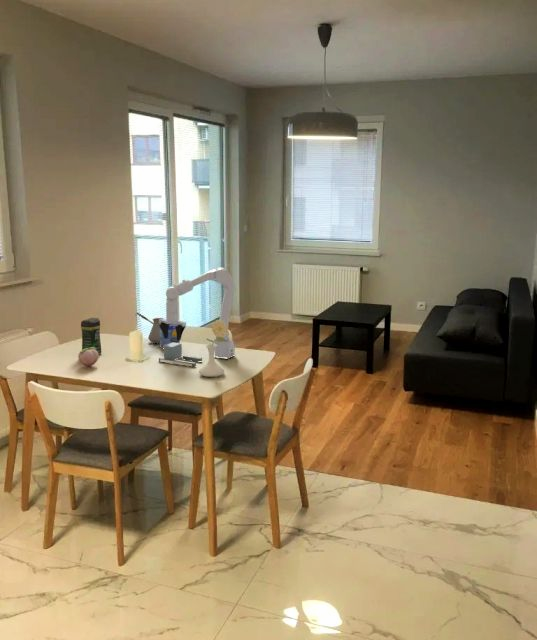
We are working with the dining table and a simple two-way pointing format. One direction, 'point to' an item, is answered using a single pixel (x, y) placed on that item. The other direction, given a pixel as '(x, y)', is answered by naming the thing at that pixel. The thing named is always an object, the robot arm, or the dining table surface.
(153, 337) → the coffee pot
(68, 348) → the dining table surface
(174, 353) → the carton
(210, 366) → the flower in vase
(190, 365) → the price rail
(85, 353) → the decorative fruit
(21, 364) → the dining table surface
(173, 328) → the ink cartridge box
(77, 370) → the dining table surface
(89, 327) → the coffee jar
